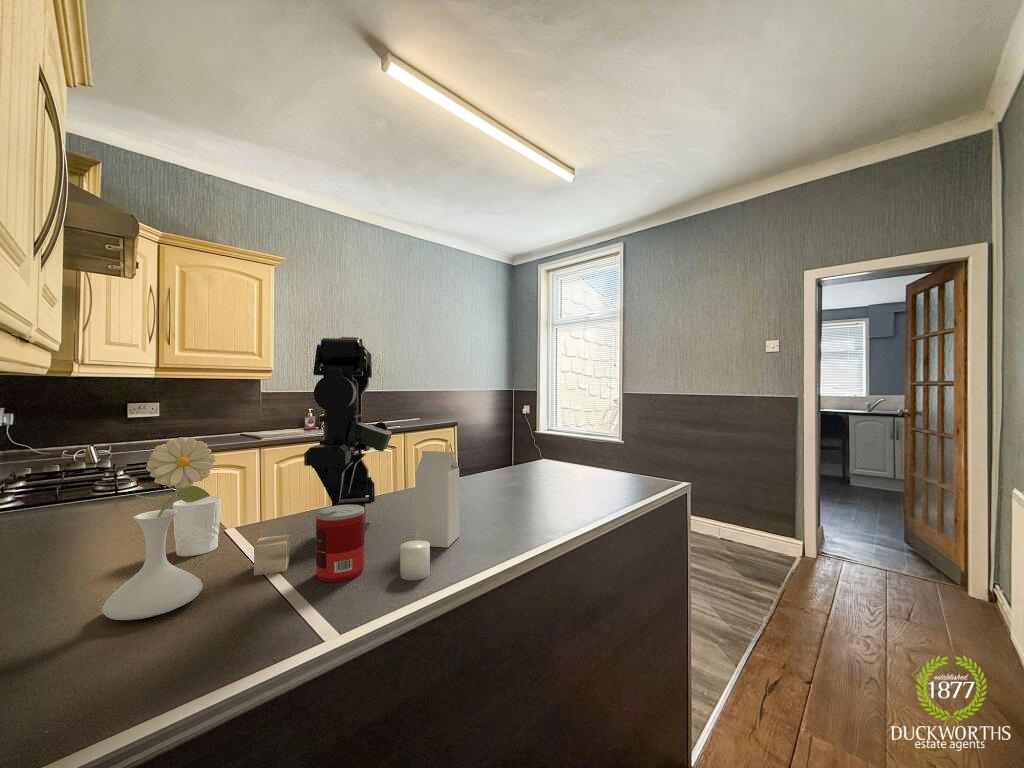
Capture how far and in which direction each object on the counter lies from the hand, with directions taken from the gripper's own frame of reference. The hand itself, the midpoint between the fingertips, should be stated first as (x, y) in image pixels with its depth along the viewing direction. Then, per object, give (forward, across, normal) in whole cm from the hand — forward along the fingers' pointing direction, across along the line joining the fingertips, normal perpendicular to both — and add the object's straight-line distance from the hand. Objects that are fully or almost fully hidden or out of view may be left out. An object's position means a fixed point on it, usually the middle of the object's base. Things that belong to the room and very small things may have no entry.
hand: (341, 498), depth 75 cm
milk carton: (+13, +14, -16) cm, 25 cm away
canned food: (+13, 0, 0) cm, 13 cm away
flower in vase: (+13, -9, +23) cm, 28 cm away
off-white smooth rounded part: (+13, -2, -13) cm, 19 cm away
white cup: (+13, +15, +32) cm, 38 cm away
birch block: (+13, +4, +13) cm, 19 cm away
